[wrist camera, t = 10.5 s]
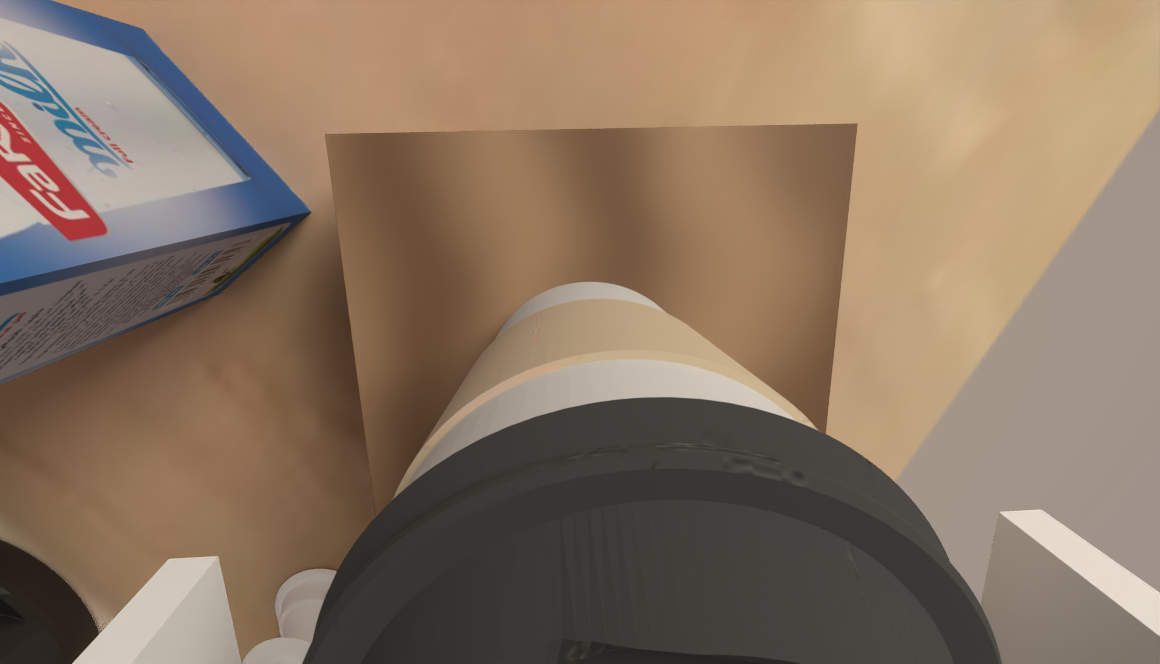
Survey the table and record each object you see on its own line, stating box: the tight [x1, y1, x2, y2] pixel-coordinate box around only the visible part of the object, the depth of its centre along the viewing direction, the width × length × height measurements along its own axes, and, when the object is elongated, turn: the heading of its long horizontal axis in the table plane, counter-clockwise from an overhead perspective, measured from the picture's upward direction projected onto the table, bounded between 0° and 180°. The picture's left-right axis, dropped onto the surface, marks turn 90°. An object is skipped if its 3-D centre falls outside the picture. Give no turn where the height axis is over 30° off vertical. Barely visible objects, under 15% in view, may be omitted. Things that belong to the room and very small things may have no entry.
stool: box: [325, 124, 857, 516], centre depth 25 cm, size 16×16×10 cm
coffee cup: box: [302, 282, 1002, 664], centre depth 13 cm, size 9×9×15 cm
